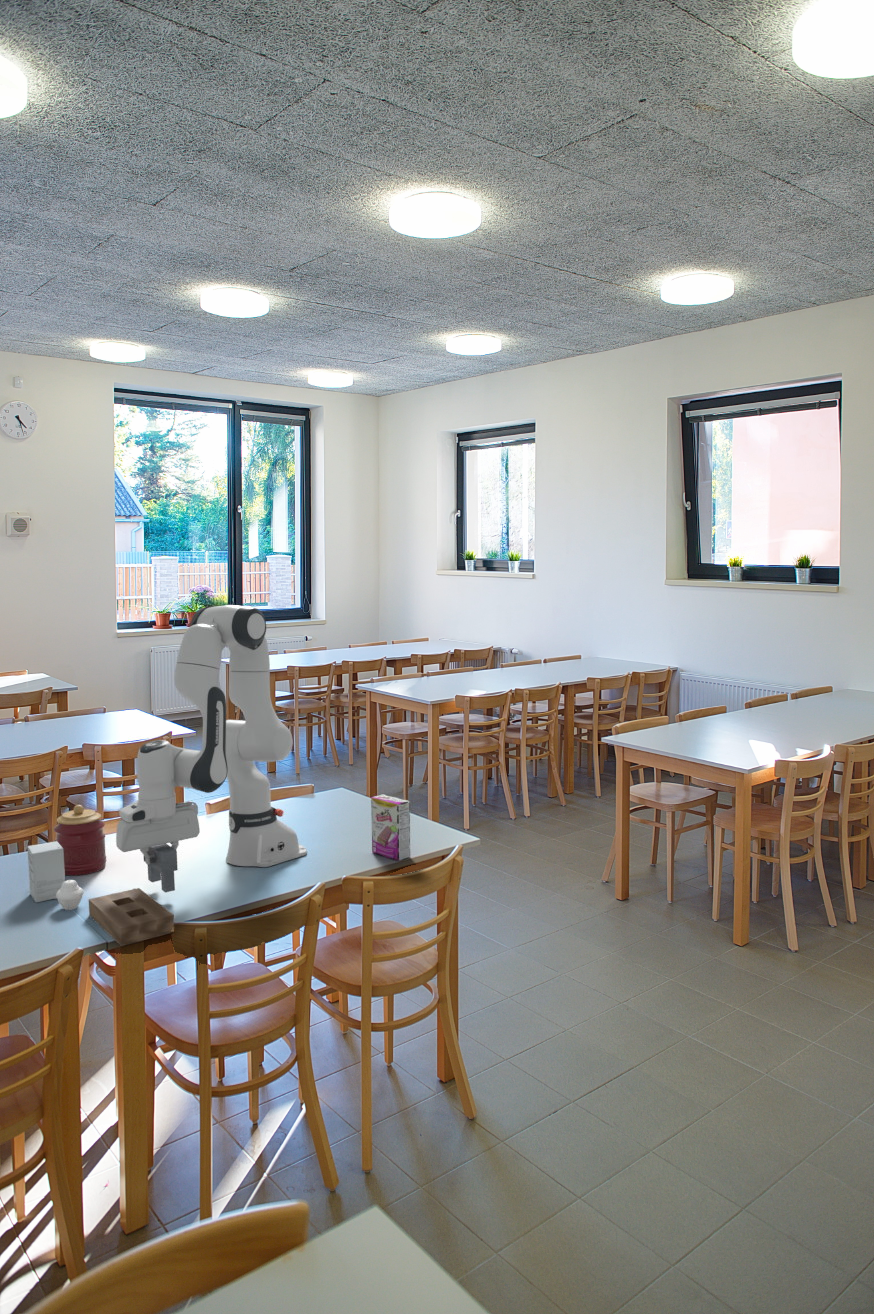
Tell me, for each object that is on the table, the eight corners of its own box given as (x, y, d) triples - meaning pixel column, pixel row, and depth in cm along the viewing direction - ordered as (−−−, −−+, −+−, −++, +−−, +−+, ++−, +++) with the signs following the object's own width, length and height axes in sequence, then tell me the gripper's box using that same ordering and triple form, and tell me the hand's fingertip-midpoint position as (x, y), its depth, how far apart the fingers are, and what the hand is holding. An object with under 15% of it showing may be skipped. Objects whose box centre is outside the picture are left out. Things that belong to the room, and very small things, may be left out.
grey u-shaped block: (160, 876, 237) (158, 838, 236) (178, 890, 227) (176, 850, 226) (144, 880, 234) (142, 842, 233) (162, 893, 225) (160, 854, 224)
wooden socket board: (139, 904, 226) (138, 888, 225) (174, 932, 208) (173, 915, 208) (89, 915, 218) (88, 899, 218) (121, 946, 201) (120, 928, 201)
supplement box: (60, 888, 237) (58, 840, 235) (66, 897, 231) (64, 848, 229) (29, 894, 233) (26, 845, 231) (34, 903, 227) (31, 853, 225)
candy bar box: (370, 853, 263) (370, 797, 261) (383, 849, 267) (382, 793, 265) (398, 862, 256) (397, 803, 254) (411, 857, 259) (410, 800, 257)
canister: (44, 873, 249) (41, 809, 247) (79, 858, 261) (76, 797, 259) (83, 879, 244) (79, 813, 242) (117, 863, 256) (114, 801, 254)
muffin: (78, 901, 228) (76, 873, 227) (88, 908, 223) (86, 879, 223) (52, 908, 224) (51, 879, 223) (62, 914, 219) (61, 886, 218)
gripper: (192, 797, 237) (194, 849, 239) (112, 811, 225) (115, 866, 227) (202, 802, 232) (204, 855, 234) (121, 817, 220) (124, 873, 222)
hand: (160, 861), depth 230 cm, fingers closed on grey u-shaped block, 4 cm apart
